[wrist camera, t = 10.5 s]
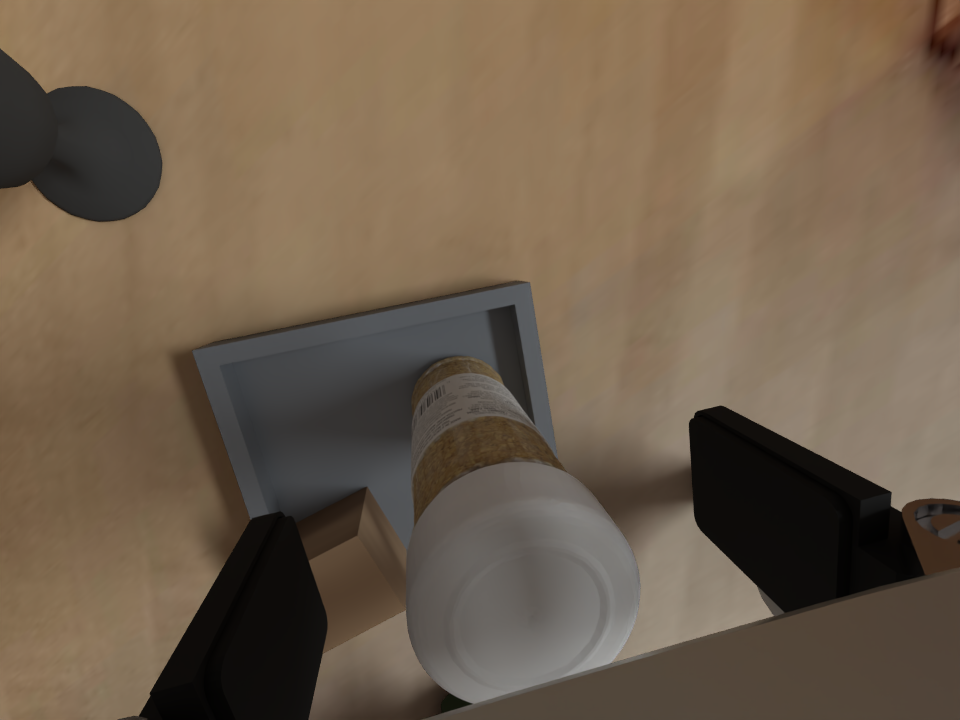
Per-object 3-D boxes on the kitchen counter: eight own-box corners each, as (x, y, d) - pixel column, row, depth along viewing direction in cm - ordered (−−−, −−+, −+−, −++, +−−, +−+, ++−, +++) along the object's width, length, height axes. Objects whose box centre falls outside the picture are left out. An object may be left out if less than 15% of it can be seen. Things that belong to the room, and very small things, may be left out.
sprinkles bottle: (456, 462, 22) (518, 761, 9) (389, 398, 21) (348, 632, 8) (525, 399, 22) (694, 609, 9) (462, 331, 20) (547, 454, 7)
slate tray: (213, 342, 20) (191, 350, 18) (519, 280, 21) (529, 282, 19) (301, 604, 23) (291, 635, 21) (560, 535, 24) (573, 559, 23)
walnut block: (290, 525, 21) (264, 583, 17) (367, 486, 21) (357, 535, 18) (334, 587, 22) (318, 656, 18) (406, 550, 22) (405, 609, 19)
